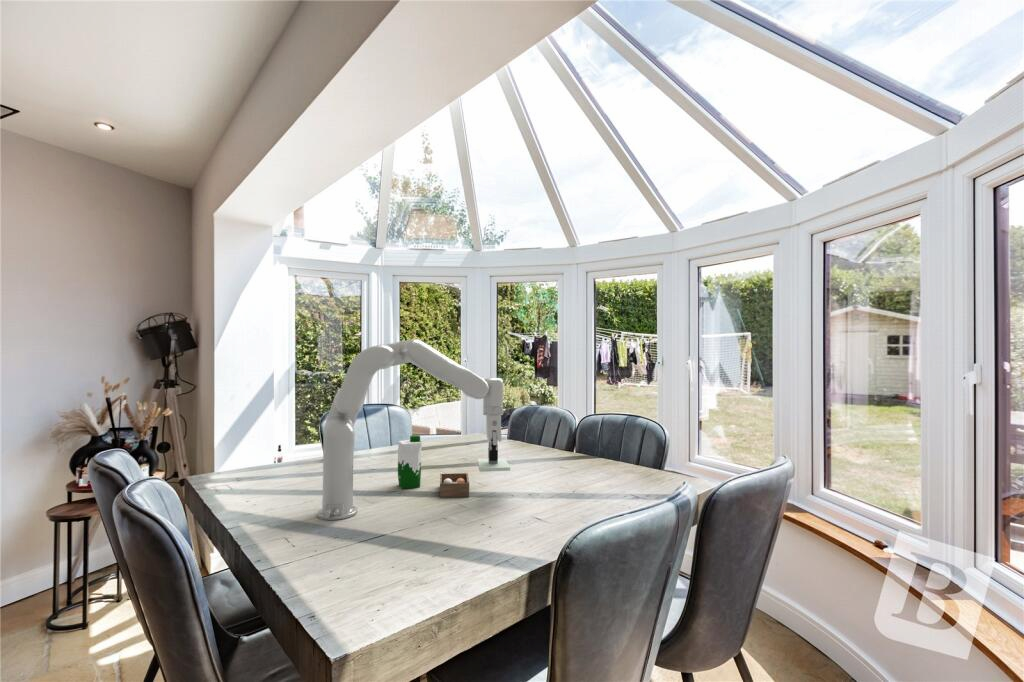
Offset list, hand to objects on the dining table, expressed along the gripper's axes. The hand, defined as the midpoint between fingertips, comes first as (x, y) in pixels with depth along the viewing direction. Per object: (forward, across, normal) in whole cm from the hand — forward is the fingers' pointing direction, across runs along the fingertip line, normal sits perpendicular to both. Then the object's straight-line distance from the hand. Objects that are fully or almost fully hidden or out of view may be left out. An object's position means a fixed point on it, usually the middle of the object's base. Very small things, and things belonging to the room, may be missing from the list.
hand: (492, 458), depth 177 cm
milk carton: (+14, +18, +32) cm, 40 cm away
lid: (+3, 0, 0) cm, 3 cm away
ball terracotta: (+12, +12, +12) cm, 21 cm away
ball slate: (+12, +6, +14) cm, 20 cm away
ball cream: (+12, +12, +17) cm, 24 cm away
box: (+14, +9, +14) cm, 22 cm away
